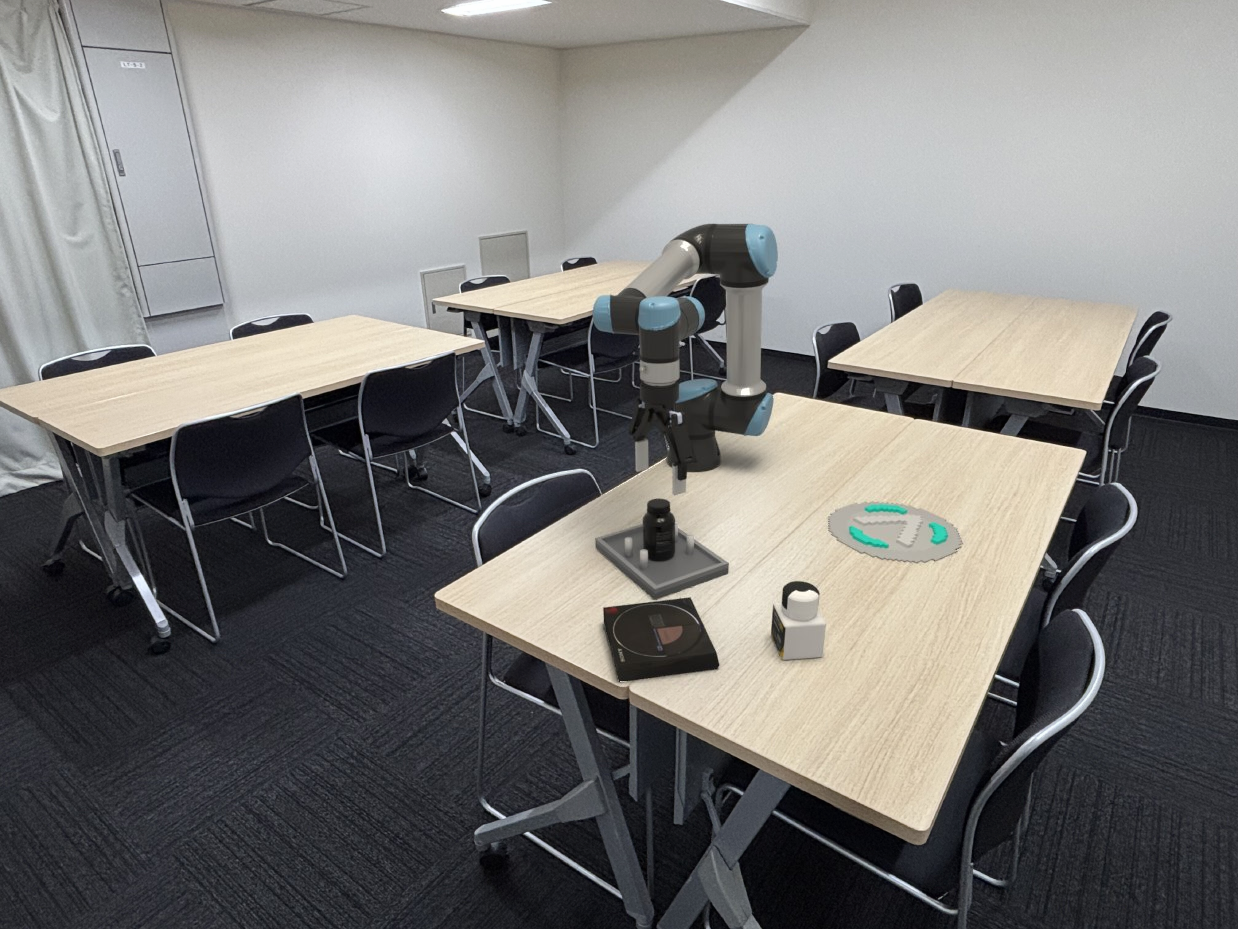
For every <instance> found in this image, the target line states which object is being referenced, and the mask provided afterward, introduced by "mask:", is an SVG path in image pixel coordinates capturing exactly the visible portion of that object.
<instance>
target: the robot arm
mask: <svg viewBox="0 0 1238 929" xmlns="http://www.w3.org/2000/svg"><path fill="white" fill-rule="evenodd" d="M777 243H778V242H777V240H776V235H775V233H774V231H773V230H772V229H771V227H769V226H768V225H764V224H754V223H705V224H704V223H703V224H701V225H697V226H695V227H691V228H690V229H688V230H685V231H684V232H682V233H680V234H678V235H677V236H675V237H673V239H671V240H670V241H669V242H668V243H667V244H666V245H665V246H664V247H663V249H662V251H661V255H660V256H658V257H657V258H656V259H655V260H653V262H652V263H651V264H650V265H649V266H648V267H647V268H645V269H644V270H643V271H642V272H640V274H639V275H637V276H636V277H635V278H634V279H633V280H632V281H631V282H630V283H628V285H626V286H625V288H623V289H622V290H621V291H620V292H618V294H617V295H614V294H612V293H611V294H603V295H599V296H598V297H597V298H596V300H595V302H594V304H593V307H592V320H593V324H594V326H595V328H596V329H597V330H598V331H600V332H606V333H612V334H621V335H622V334H623V335H636V336H638V337H639V378H640V380H641V382H639V396H636V397H635V406H634V409H633V414H632V417H631V420H630V424H629V428H628V432H627V433H628V435H629V436H632V440H633V441H634V454H635V457H634V458H635V471H636V472H637V473H638V472H639V473H640V472H642V471H646V470H649V440H648V439H647V438H649V436H648V435H649V433H650V431H651V430H652V428H653V427H656V428H657V429H659V432H660V434H661V435H664V438H665V441H666V443H667V446H668V450H667V453H666V462H667V464H668V465H669V467H672V470H671V471H672V472H671V473H672V476H671V479H672V480H671V481H672V483H671V484H672V488H671V489H672V492H671V494H672V495H673V496H674V497H675V496H678V495H681V494H684V493H687V477H688V472H705V471H711V470H714V469H716V468H717V467H720V465H721V461H722V459H721V458H722V455H721V450H720V447H719V444H718V441H717V438H716V432H722V433H728V434H735V435H742V436H745V437H747V436H749V437H751V436H752V437H759V436H761V435H762V434H763V433H764V432H765V431H766V429H767V428H768V425H769V422H770V418H771V416H772V412H773V407H774V399H775V398H774V395H773V394H772V393H770V392H767V384H766V383H765V381H763V380H762V379H761V372H762V370H761V369H762V368H761V364H762V363H761V361H762V357H761V356H762V355H761V354H762V315H763V314H762V310H763V309H762V308H763V305H762V304H763V289H764V288H765V287H766V286H767V285H768V284H769V281H770V280H769V278H772V277H773V276H774V275H775V274H776V271H777V267H778V263H777V262H778V253H779V252H778V244H777ZM702 274H704V275H705V274H706V275H719V285H720V286H721V287H722V288H723V289H724V290H725V292H726V293H725V294H726V295H725V297H726V299H725V300H726V301H725V303H726V306H725V307H726V308H725V309H726V310H725V311H726V315H725V316H726V317H725V319H726V379H725V381H723V382H722V384H721V387H718V385H719V384H718V382H717V381H716V380H715V379H712V378H697V379H696V378H695V379H690V380H686V381H683V382H679V381H678V380H679V379H680V343H681V341H683V340H685V339H687V338H688V337H691V336H694V334H696V332H698V331H699V330H700V329H701V328H702V327H703V324H704V322H705V317H706V313H705V308H704V306H703V304H702V303H701V302H700V301H699V300H698V299H697V298H694V297H692V296H680V297H677V298H676V297H672V296H669V295H670V294H671V293H672V292H673V291H674V290H675V289H676V287H678V286H679V284H680V283H682V282H683V281H685V280H688V279H691V278H692V277H693V276H695V275H702Z"/></svg>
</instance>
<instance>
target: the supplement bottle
mask: <svg viewBox="0 0 1238 929" xmlns="http://www.w3.org/2000/svg"><path fill="white" fill-rule="evenodd" d="M675 523H676V518H675V514H673V513H672V512H671V502H670V501H669V500H668V499H665V498H661V497H660V498H652V499H650V500H648V501H647V504H646V513H645V514H644V515H643V517H642V524H643V549H646V550H647V551H648V559H651V560H654V561H664V560H668V559H670V558H672V557H673V556H674V554H675Z"/></svg>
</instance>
